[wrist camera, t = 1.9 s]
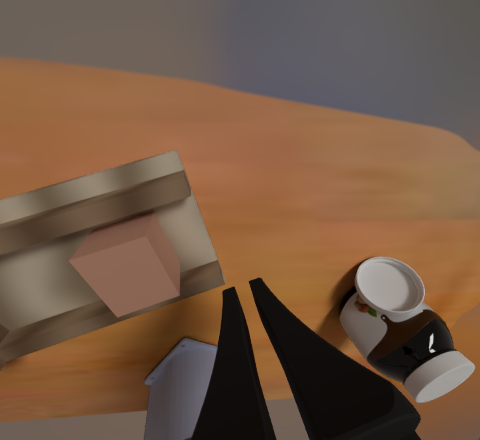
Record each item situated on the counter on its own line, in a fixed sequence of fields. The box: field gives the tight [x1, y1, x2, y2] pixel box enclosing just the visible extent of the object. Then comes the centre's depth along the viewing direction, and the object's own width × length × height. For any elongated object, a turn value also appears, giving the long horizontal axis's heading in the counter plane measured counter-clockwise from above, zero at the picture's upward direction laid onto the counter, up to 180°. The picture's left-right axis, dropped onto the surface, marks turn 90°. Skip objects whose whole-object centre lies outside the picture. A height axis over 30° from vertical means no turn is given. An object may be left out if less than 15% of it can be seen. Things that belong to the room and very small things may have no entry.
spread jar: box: [339, 257, 475, 403], centre depth 25 cm, size 12×11×12 cm
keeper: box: [69, 211, 180, 317], centre depth 17 cm, size 5×6×4 cm
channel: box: [0, 150, 225, 370], centre depth 17 cm, size 22×14×5 cm, turn 103°
